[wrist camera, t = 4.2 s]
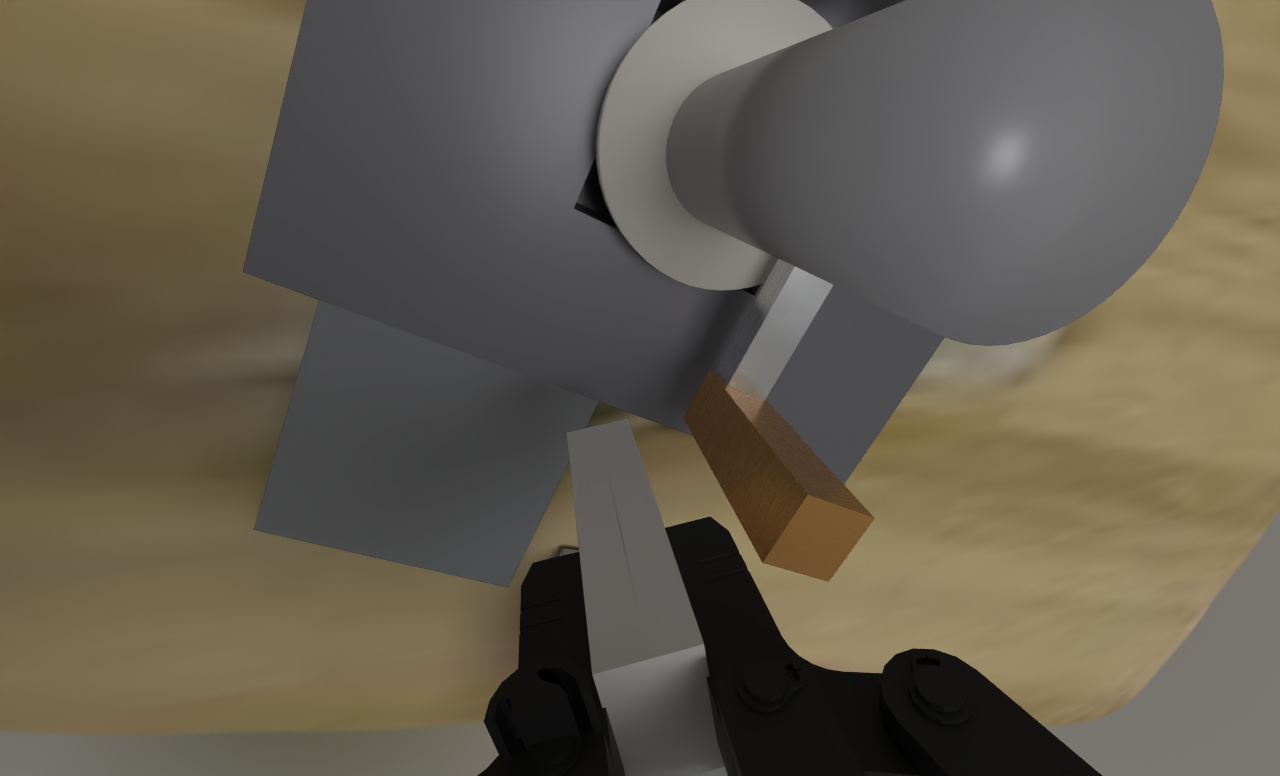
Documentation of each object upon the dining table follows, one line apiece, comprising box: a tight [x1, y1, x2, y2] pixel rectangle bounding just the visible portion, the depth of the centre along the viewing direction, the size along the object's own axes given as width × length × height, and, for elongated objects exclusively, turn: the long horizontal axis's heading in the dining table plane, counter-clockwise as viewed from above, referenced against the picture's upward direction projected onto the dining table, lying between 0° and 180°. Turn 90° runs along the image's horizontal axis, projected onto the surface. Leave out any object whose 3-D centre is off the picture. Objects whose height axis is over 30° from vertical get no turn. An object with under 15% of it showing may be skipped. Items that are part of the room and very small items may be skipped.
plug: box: [596, 0, 1224, 346], centre depth 11 cm, size 7×7×14 cm
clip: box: [683, 259, 874, 582], centre depth 10 cm, size 5×14×6 cm, turn 154°
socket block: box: [243, 0, 945, 484], centre depth 16 cm, size 20×16×6 cm
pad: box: [254, 300, 599, 588], centre depth 21 cm, size 10×10×1 cm
